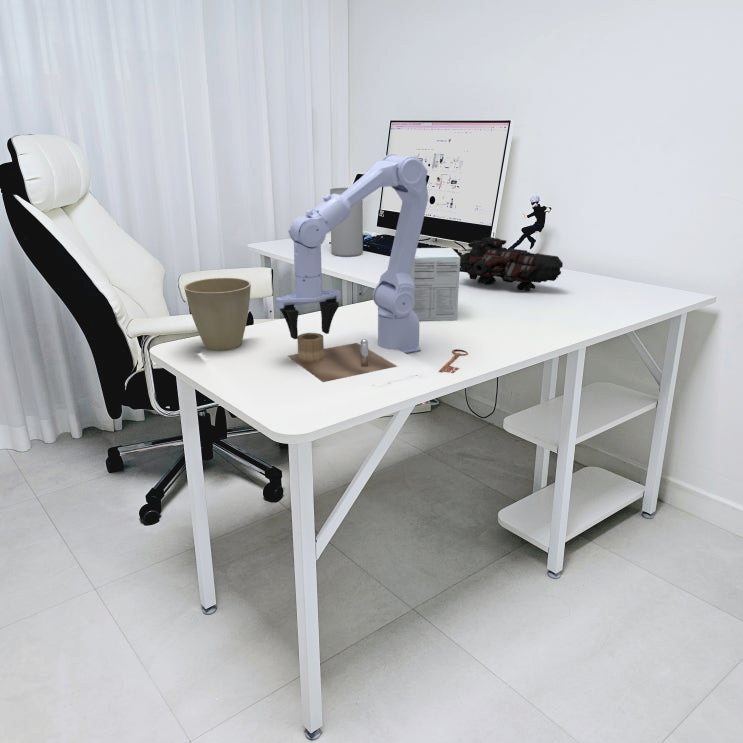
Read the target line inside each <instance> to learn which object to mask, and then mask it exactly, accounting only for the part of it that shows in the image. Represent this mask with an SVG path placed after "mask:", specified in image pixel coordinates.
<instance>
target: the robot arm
mask: <svg viewBox="0 0 743 743" xmlns="http://www.w3.org/2000/svg"><path fill="white" fill-rule="evenodd" d="M428 172H429V171H428V169H427V168H426V166H425V164H424V163H423V162H422V160H421V158H418V157H417V156H413V155H409V156H406V155H400V154H399V155H398V154H394V153H389V154H387V155H385V156H384V157H383V158H382V159H380V160H378V161H376V162H375V163H374V165H373V166H372V167H371V168H370V169H368V171H366V173H364V174H363V175H362V176H361V177H360V178H359V179H357V180H356V181H355V182H354V183H353V184H352V185H350V186H349V187H347V188H348V189H347V190H346V191H345V192H344V193H342V194H341V195H339V194H332V195H330V194H326V195H324V196H323V197H322V199H323V200H322V201H321V202H320V203H318V204H317V205H316V206H315V207H313V208H312V209H309V208H308V210H306V211H305V214H306V216H305V215H303V216H297V217H296V218H294V220H292V221H291V225H290V227H289V229H288V230H287V231H288V235H289V237H290V239H291V240H292V241H293V262H294V265H293V266H294V287H295V293H292V294H287V295H283V296H281V297H280V296H279V297H276V298H275V305H276V306H275V307H276V308H278V309H279V310H280V312H281V314H282V315H283V318H284V319H285V322H286V324H287V327H288V331H289V333H290V335H289V336H290V338H292V340H297V338H298V335H299V333H298V322H299V320H298V319H299V318H298V317H299V312H300V311H299V310H297V309H296V306H301V305H310V304H316V303H319V308H320V316H321V332H322V333H324V334H326V335H329V334H330V331H331V326H332V321H333V319H334V316H335V314H336V312H337V310H338V309H339V305H340V304H339V302H338V301H341V300H342V299H341V298H342V296H341V295H342V294H341V292H342V291H340V290H338V289H331V290H330V289H328V290H323V278H322V277H323V275H322V274H323V273H322V269H323V268H322V245H323V243H324V242H325V240H326V237H327V234H329V232H330V233H331V230H332V229H333V228H335V227H336V226H337V225H339V224H340V223H341V222H342V221H344V220H345V219H346V218H347V217H349V215H350V211H351V207H352V206H354V205H355V204H357V203H358V202H360V201H361V200H362V199H363V200H364V199H366V198H367V197H368V196H369V195H371V194H372V193H373V192H375V191H377V190H378V189H380V188H382V187H383V188H384V187H386V188H387V187H391V188H392V189H393V190H394V191H395V192H396V194H397V195H398V197H399V198H400V200H401V202H402V203H401V206H400V210H399V211H400V212H399V216H398V221H397V224H396V230H395V235H394V237H393V238H394V239H393V244H392V248H391V251H390V252H391V253H390V257H389V261H388V266H387V270H385V272H383V273H382V274H381V275H380V278H379V281H378V284H377V285H376V287H375V288H374V290H373V292H372V299H373V302H374V304H375V305H376V306H377V346H378V347H380V348H382V349H386V350H387V349H388V350H398V351H400V352H402V353H404V354H408V353H409V354H410V353H413V352H418V351H421V347H420V326H421V325H420V321H419V319H418V316H417V315H416V313H415V312H413V311H412V310H413V308H414V305H415V298H414V289H415V285H414V283H413V280H412V278H411V271H412V267H413V263H414V258H415V254H416V250H417V248H418V245H419V240H420V235H421V231H422V227H423V223H424V218H425V213H426V209H427V206H428V200H429V192H428V187H427V186H428V185H427V176H428Z"/></svg>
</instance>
